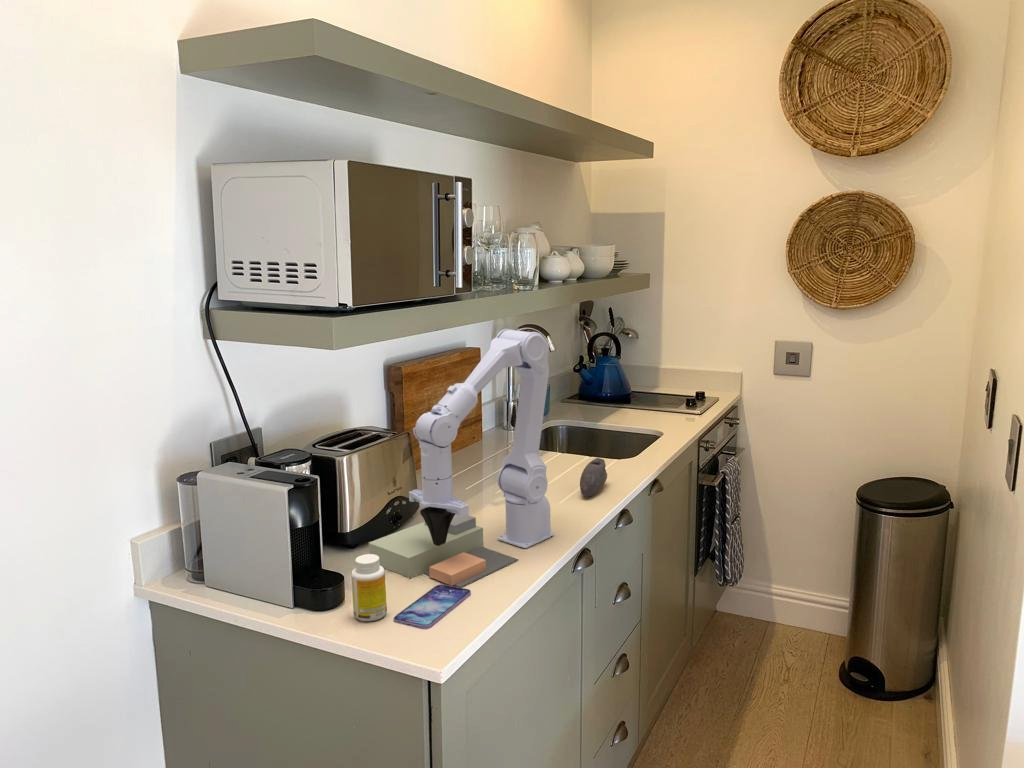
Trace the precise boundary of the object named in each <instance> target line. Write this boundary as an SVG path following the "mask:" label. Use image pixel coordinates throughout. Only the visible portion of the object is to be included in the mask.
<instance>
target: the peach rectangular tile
mask: <svg viewBox="0 0 1024 768" xmlns="http://www.w3.org/2000/svg"><path fill="white" fill-rule="evenodd" d="M485 570H486V560H484V559H481V558H478V557H476V556H473V555H470V554H467V553H465V552H463V553H460V554H458V555H456V556H453V557H451V558H449V559H446V560H444V561H442V562H439V563H437V564H435V565H432V566H430V567H429V575H430V576H429V578H431V579H434V580H437V581H439V582H441V583H443V584H445V585H448V586H453V585H454V584H457V583H459V582H461V581H463V580H465V579H467V578H470V577H472V576H474V575H476V574H478V573H480V572H483V571H485Z"/></svg>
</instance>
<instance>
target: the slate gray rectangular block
mask: <svg viewBox="0 0 1024 768" xmlns="http://www.w3.org/2000/svg"><path fill="white" fill-rule="evenodd" d="M424 522H425V521H424ZM425 525H426V526H427V524H426V522H425ZM476 526H477V521H476V517H475V516H472V515H469V514H468V515H466V516H463V517H459V516H458V514H455V515H454V517H453V519H452V521H451V524H450V527H449V530H448V533H450V534H453V535H457V534H459V533H462V532H464V531H467V530H469V529H472V528H474V527H476Z"/></svg>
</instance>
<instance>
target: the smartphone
mask: <svg viewBox="0 0 1024 768" xmlns="http://www.w3.org/2000/svg"><path fill="white" fill-rule="evenodd" d="M470 596H472V592H471V589H469V588H465V587H462V588H459V587H456V586H453V585H452V586H451V585H448V584H443V583H442V584H436V585H435V586H433V587H432V588H431V589H430V590H428V591H426V592H425V593H424V594H423V595H421V596H420V597H418V598H417V599H416V600H414V601H413V602H412V603H411V604H409V605H408V606H406V607H405V608H404V609H402V610H401V611H400V612H399V613H397V614H396V615H395V616H394V617H393V622H394V623H396V624H400V625H405V626H409V627H412V628H417V629H421V630H429V629H431V628H432V627H434V626H435V625H436V624H437V623H439V622H440V621H441V620H442V619H443V618H444V617H446V616H448V614H449V613H451V612H452V611H453V610H454V609H456V608H457V607H458V606H459V605H461V604H462V603H463V602H464V601H465V600H467V599H468V598H469V597H470Z"/></svg>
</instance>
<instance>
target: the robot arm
mask: <svg viewBox="0 0 1024 768" xmlns="http://www.w3.org/2000/svg"><path fill="white" fill-rule="evenodd" d="M489 344H490V347H489V349H488V351H487V352H486V354H484V356H483V357H482V358H481V360H480V361H479V362H478V364H477V365H476V366H475V368H474V369H473V370H472V372H471V373H470V374H469V375H468V376H467V378H466V379H465V381H464V382H461V383H460V382H459V383H458V382H456V383H454V384H453V385H450V386H448V388H446V391H447V392H446V393H445V395H444V396H443V397H442V398H441V399H440V400H439V401H438V402H437V403H436V404H434V405H433V406H432V407H431V410H430V411H427V412H424V413H423V414H422V415H420V416H419V417H418V419H417V420H416V422H415V427H413V428H412V430H413V435H414V437H415V439H417V440H418V445H419V447H418V448H419V449H420V464H421V465H420V467H421V485H422V486H421V490H420V489H417V488H416V489H413V490H410V491H408V496H409V497H408V499H409V502H411V503H412V502H413V503H414V502H417V503H419V506H420V507H421V508H422V509H420V511H419V513H420V515H421V517H422V518H423V520H424V522H426V524H427V526H428V528H429V531H430V534H431V537H432V541H433V544H434V545H437V546H440V545H442V544H445V543H446V539H447V534H448V530H449V527H450V524H451V521H452V519H453V517H454V515H455V514H458V516H459V517H463V516H466V515H469V514H470V512H469V510H470V509H469V504H467V503H465V502H463V501H461V500H460V499H459V498H457V497H456V496H454V488H453V468H452V466H453V465H452V443H454V442H455V439H457V436H458V430H459V428H460V427H461V423H462V422H463V421H464V420H465V418H466V417H468V415H469V414H470V413H471V411H472V410H473V409H474V408H475V407H476V406H477V404H478V403H479V400H478V395H479V393H480V392H482V391H483V389H484V388H485V387H486V386H487V385H488V384H489V383H491V381H492V380H494V378H495V377H496V376H498V374H500V372H501V371H502V370H503V369H505V368H510V367H511V368H512V367H513V368H514V369H515V370H516V372H517V373H518V375H519V376H520V377H521V379H520V386H519V395H518V401H517V402H518V403H517V409H516V411H517V412H516V417H515V424H514V426H515V427H514V433H513V442H512V449H511V451H510V452H509V453H508V454H507V455H506V456H504V457H503V461H502V465H501V467H500V470H499V472H498V474H497V479H496V481H497V486H498V487H499V490H500V491H502V492H503V494H502V495H503V498H505V502H504V503H505V531H506V532H505V533H504V534H502V535H500V536H497V540H498V541H500V542H504V543H506V544H510V545H513V546H516V547H519V548H522V549H528V548H530V547H532V546H534V545H537V544H538V543H541V542H544V540H545V541H546V540H547V539H549V538H551V536H552V537H554V532H551V505H550V502H549V500H548V498H547V496H545V494H546V493H547V491H548V485H549V484H548V478H547V465H546V464H545V462H544V461H543V459H542V458H541V457H540V454H539V453H540V445H541V437H542V429H543V423H544V422H543V421H544V413H545V407H546V406H545V405H546V397H547V391H548V385H549V384H548V383H549V382H548V381H549V375H550V366H549V361H548V359H549V351H550V343H549V342H548V341H547V340H546V338H545V337H544V336H543V335H542V334H541V332H537V331H532V332H530V331H524V330H517V329H516V330H515V329H511V328H503V329H502V330H501V331H499V332H498V333H497V335H496V336H495V337H494V338H493V339H492V340H491V341H490V343H489Z"/></svg>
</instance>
